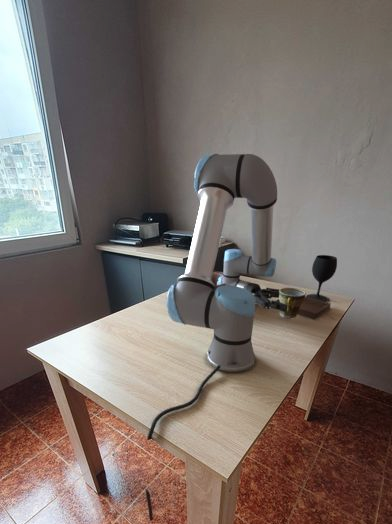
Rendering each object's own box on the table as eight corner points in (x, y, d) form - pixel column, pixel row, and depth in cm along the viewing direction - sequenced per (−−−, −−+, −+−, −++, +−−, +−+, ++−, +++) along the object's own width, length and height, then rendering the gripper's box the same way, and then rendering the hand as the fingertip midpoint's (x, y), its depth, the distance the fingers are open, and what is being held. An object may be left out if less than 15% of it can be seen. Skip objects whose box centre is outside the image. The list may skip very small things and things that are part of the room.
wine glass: (330, 297, 144) (340, 256, 134) (325, 304, 136) (336, 261, 126) (308, 293, 149) (317, 253, 138) (303, 299, 141) (312, 257, 131)
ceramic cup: (277, 308, 124) (281, 286, 118) (302, 313, 120) (307, 289, 115) (272, 320, 113) (276, 296, 108) (298, 325, 110) (303, 300, 105)
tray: (314, 319, 121) (316, 313, 120) (273, 307, 133) (274, 301, 131) (329, 309, 131) (330, 303, 130) (289, 298, 142) (290, 292, 141)
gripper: (262, 292, 135) (306, 304, 122) (230, 306, 119) (277, 322, 107) (264, 276, 131) (310, 287, 118) (232, 288, 116) (280, 303, 103)
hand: (294, 304), depth 113 cm, fingers closed on ceramic cup, 12 cm apart
